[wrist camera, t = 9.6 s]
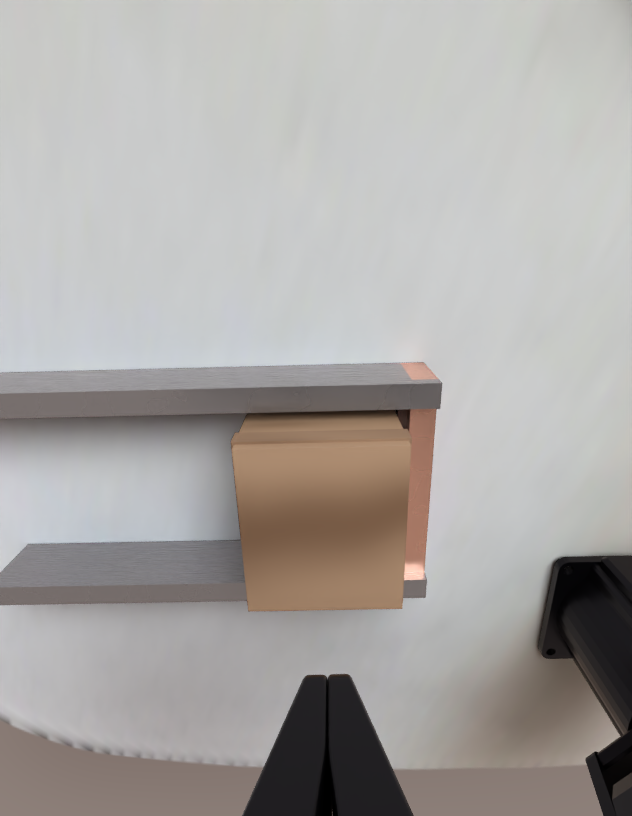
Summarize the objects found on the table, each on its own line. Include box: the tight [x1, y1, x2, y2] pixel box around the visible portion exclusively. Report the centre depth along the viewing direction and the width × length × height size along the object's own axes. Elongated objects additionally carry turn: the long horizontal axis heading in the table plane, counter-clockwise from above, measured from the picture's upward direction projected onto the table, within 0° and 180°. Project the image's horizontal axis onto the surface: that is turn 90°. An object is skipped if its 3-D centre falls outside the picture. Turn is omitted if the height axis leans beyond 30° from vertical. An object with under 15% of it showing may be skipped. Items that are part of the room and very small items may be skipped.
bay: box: [0, 362, 442, 605], centre depth 19 cm, size 10×20×3 cm, turn 91°
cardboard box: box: [231, 410, 412, 611], centre depth 18 cm, size 7×6×5 cm
